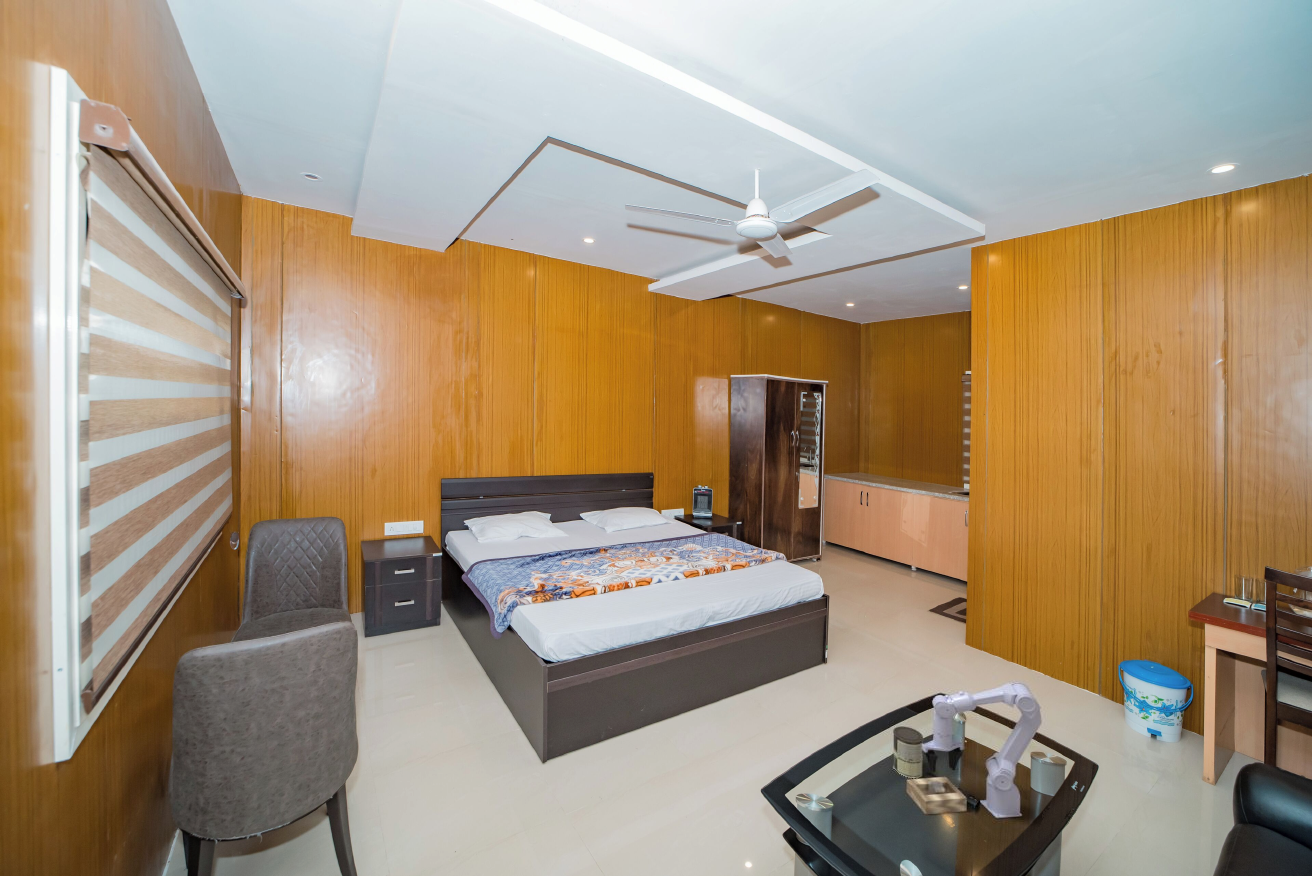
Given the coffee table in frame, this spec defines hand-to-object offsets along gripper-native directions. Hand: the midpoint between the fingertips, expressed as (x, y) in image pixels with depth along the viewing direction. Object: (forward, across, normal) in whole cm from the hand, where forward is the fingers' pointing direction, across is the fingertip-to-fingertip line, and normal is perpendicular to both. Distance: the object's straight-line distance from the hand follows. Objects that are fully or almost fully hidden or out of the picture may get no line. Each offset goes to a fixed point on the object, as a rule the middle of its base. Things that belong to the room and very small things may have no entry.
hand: (942, 769), depth 187 cm
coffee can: (+10, +3, -15) cm, 19 cm away
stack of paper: (+10, +4, +2) cm, 11 cm away
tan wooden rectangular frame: (+10, +4, +2) cm, 11 cm away
